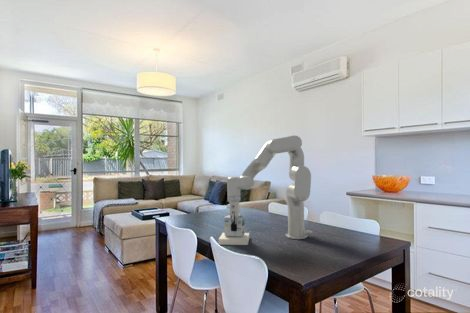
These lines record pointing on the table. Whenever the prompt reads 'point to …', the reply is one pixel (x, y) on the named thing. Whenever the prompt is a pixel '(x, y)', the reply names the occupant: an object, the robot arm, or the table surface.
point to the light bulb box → (240, 226)
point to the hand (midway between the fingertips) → (234, 229)
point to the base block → (234, 240)
